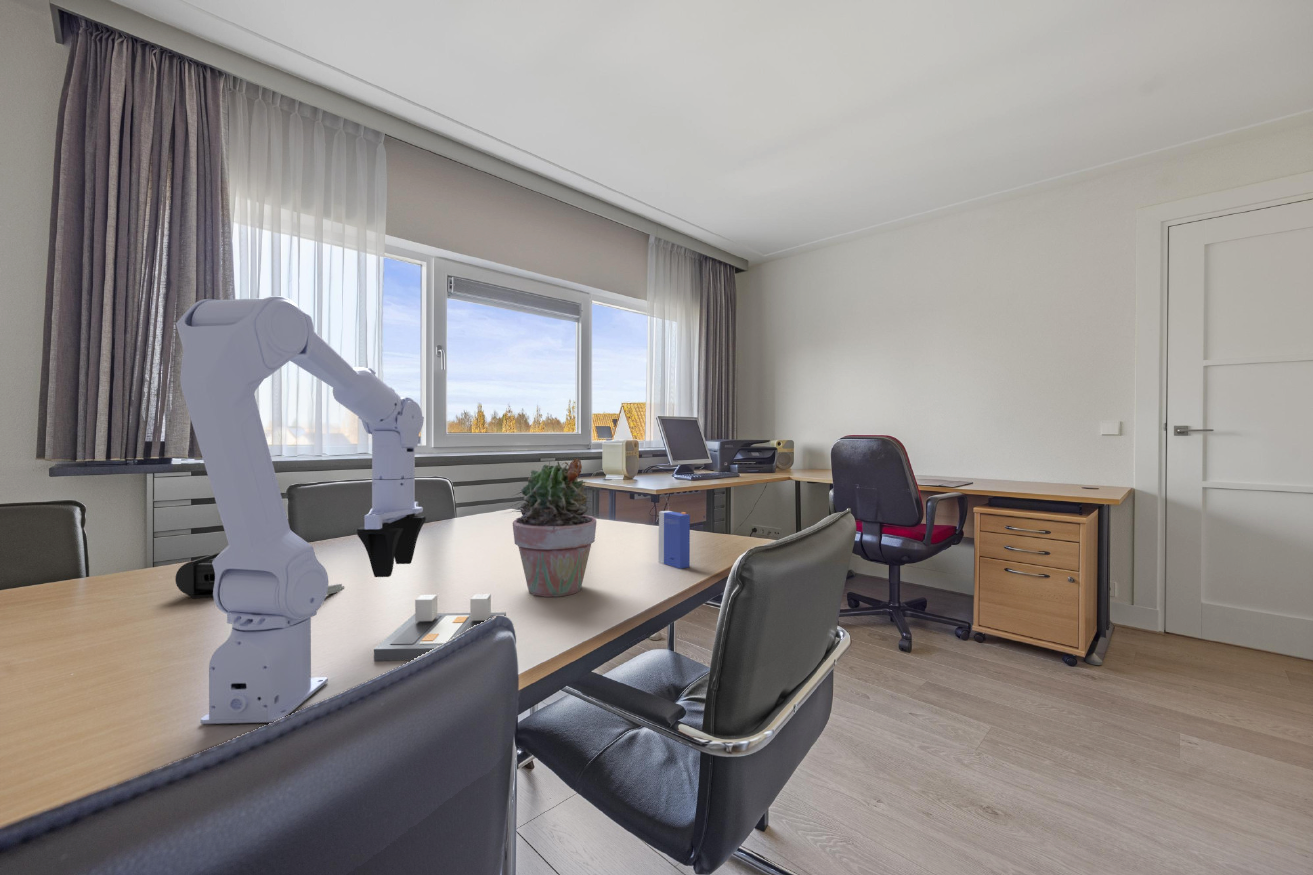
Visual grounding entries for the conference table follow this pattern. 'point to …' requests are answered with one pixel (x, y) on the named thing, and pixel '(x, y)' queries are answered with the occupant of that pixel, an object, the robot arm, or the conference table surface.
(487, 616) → the switch
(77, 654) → the conference table surface
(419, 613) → the switch
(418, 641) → the dip bank
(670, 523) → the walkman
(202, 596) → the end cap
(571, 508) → the potted plant
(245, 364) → the robot arm
